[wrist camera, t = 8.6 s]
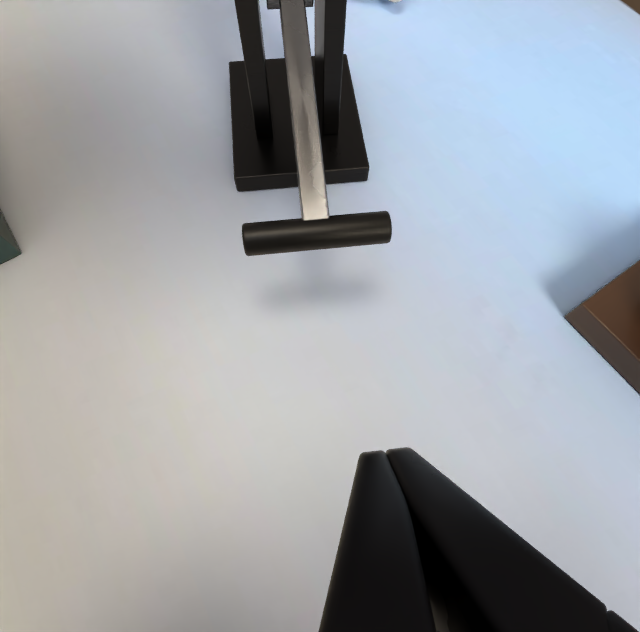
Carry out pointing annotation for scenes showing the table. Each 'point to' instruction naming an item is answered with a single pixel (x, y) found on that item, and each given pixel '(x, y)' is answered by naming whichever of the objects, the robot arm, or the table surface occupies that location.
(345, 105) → the bracket
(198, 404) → the table surface
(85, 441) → the table surface
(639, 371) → the button block
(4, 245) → the toaster
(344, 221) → the lever
